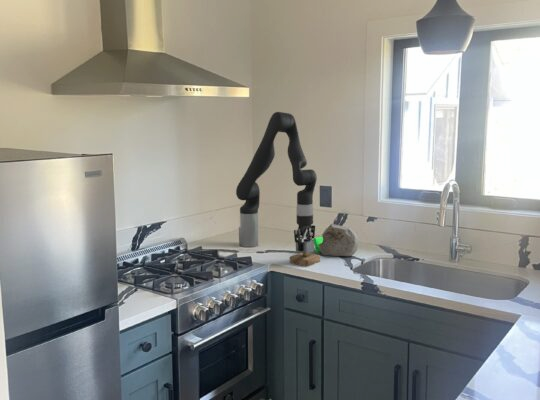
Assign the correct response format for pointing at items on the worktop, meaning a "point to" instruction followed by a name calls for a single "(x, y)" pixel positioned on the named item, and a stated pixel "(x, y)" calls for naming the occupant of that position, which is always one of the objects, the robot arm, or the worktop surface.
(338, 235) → the stone
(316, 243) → the bracket
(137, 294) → the worktop surface
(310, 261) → the keeper
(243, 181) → the robot arm
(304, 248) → the link
